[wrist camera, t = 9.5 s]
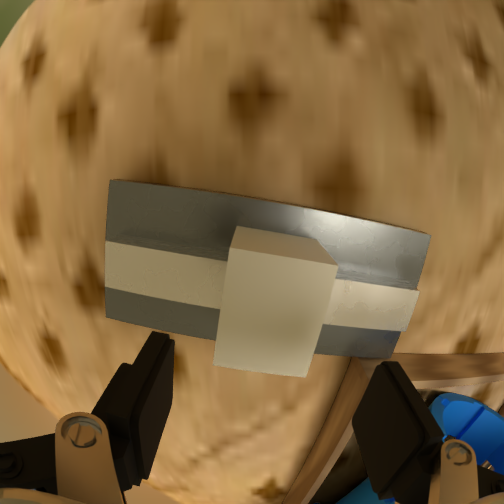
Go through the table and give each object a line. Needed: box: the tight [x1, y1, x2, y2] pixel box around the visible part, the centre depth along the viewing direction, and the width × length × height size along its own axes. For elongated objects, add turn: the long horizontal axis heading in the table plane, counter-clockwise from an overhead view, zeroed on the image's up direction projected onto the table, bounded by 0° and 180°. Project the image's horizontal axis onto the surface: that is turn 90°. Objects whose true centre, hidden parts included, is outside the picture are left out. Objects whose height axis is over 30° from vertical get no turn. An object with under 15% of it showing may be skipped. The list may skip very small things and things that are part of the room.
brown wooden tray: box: [282, 353, 504, 504], centre depth 25 cm, size 28×32×4 cm
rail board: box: [105, 179, 431, 359], centre depth 19 cm, size 22×10×3 cm, turn 81°
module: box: [213, 226, 338, 377], centre depth 17 cm, size 5×6×5 cm
